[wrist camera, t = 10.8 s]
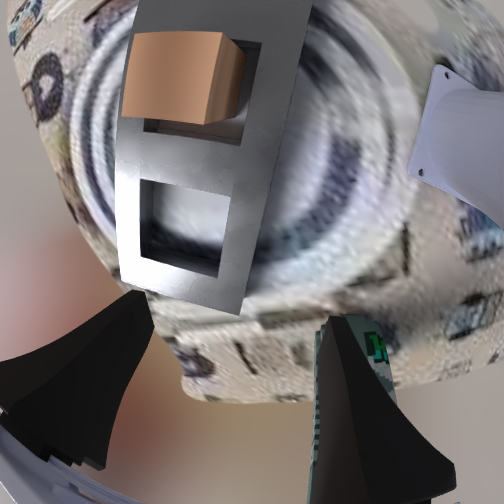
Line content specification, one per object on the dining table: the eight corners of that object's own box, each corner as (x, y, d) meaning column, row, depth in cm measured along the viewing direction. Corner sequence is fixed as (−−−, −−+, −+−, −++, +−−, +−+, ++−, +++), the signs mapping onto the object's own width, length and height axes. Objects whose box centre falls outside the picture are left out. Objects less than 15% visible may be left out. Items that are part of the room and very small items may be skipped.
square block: (248, 56, 13) (222, 32, 8) (235, 117, 15) (203, 124, 10) (185, 51, 13) (134, 33, 8) (174, 108, 15) (121, 116, 10)
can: (372, 357, 24) (385, 501, 11) (312, 359, 25) (303, 508, 12) (386, 313, 21) (418, 487, 8) (317, 315, 22) (312, 502, 9)
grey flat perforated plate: (329, -72, 6) (332, -86, 4) (243, 298, 22) (239, 315, 20) (187, -78, 6) (177, -89, 4) (132, 267, 22) (121, 280, 20)
